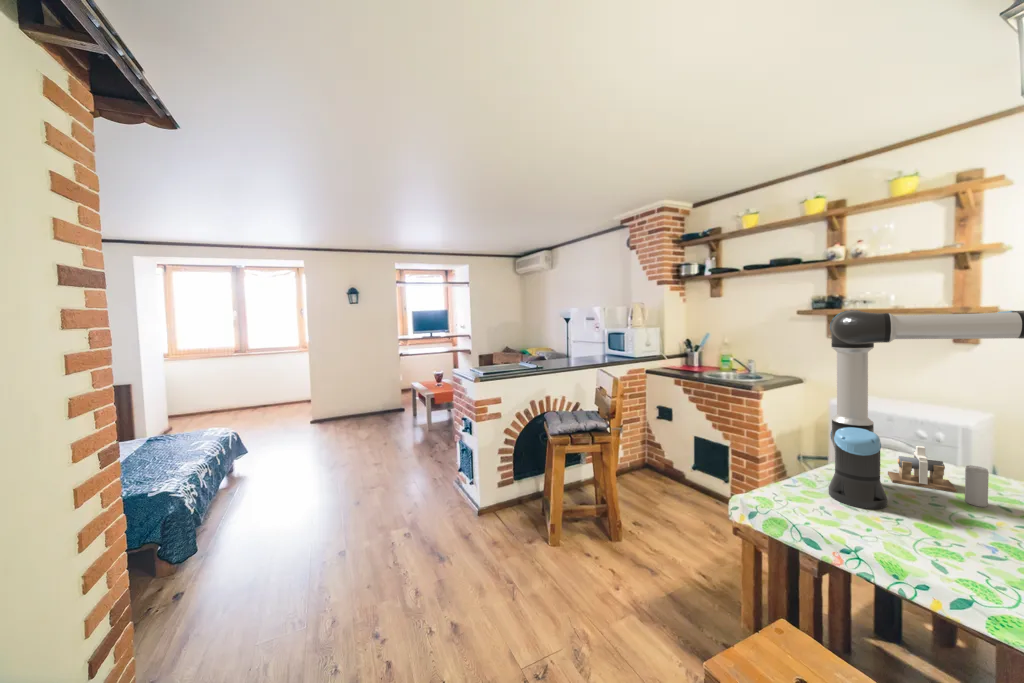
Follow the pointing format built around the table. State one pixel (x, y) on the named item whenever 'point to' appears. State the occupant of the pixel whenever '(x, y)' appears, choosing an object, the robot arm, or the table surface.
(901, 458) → the grey capped cylinder
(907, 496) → the table surface
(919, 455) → the white bar frame
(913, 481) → the cradle board
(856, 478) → the robot arm
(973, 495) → the beverage can
